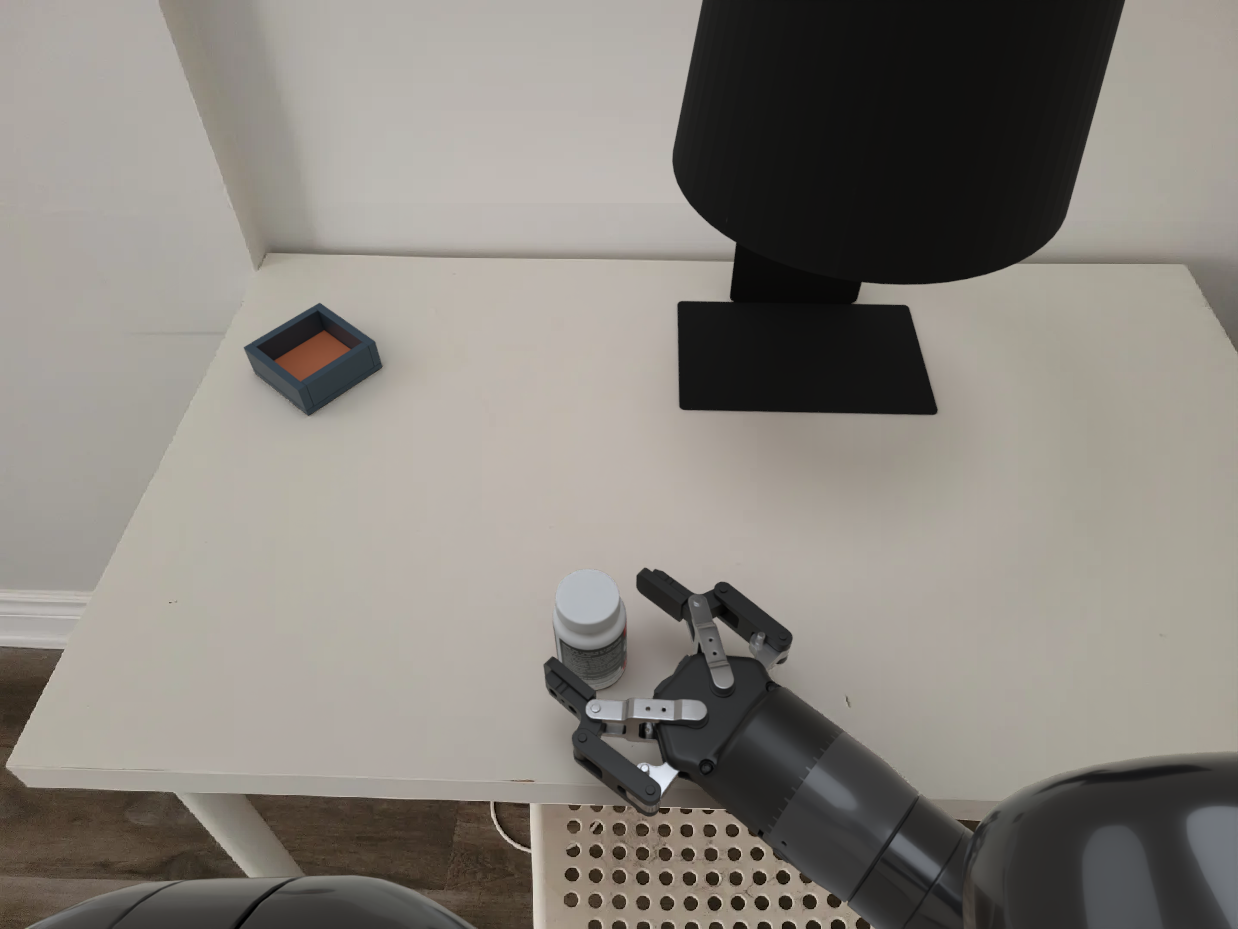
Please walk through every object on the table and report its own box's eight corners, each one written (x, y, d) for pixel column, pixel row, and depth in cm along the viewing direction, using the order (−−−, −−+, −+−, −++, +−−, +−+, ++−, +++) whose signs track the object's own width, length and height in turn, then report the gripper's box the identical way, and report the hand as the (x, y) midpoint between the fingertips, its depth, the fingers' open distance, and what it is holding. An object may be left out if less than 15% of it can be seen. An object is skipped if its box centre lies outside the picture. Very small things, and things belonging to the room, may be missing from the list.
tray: (308, 416, 75) (298, 390, 73) (254, 372, 79) (242, 347, 76) (382, 367, 79) (375, 341, 77) (328, 327, 83) (319, 302, 80)
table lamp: (923, 296, 85) (1090, -211, 55) (994, 532, 67) (1303, -30, 37) (660, 292, 86) (681, -212, 55) (660, 524, 68) (691, -35, 37)
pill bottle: (639, 671, 60) (641, 607, 53) (578, 704, 58) (572, 642, 52) (605, 618, 62) (603, 551, 56) (546, 649, 61) (536, 583, 55)
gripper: (893, 670, 49) (669, 517, 56) (741, 873, 42) (507, 669, 49) (864, 726, 55) (664, 581, 62) (727, 913, 48) (519, 725, 55)
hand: (595, 620), depth 56 cm, fingers open, 8 cm apart
